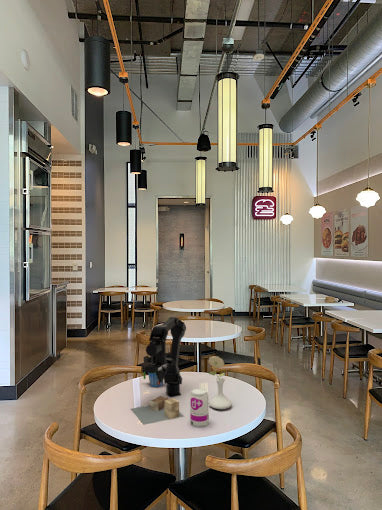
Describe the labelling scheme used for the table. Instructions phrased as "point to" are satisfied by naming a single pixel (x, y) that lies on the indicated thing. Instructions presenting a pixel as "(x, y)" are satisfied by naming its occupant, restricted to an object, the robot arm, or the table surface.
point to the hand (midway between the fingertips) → (160, 382)
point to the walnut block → (158, 403)
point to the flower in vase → (219, 386)
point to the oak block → (171, 408)
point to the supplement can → (199, 408)
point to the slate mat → (151, 415)
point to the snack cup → (154, 380)
